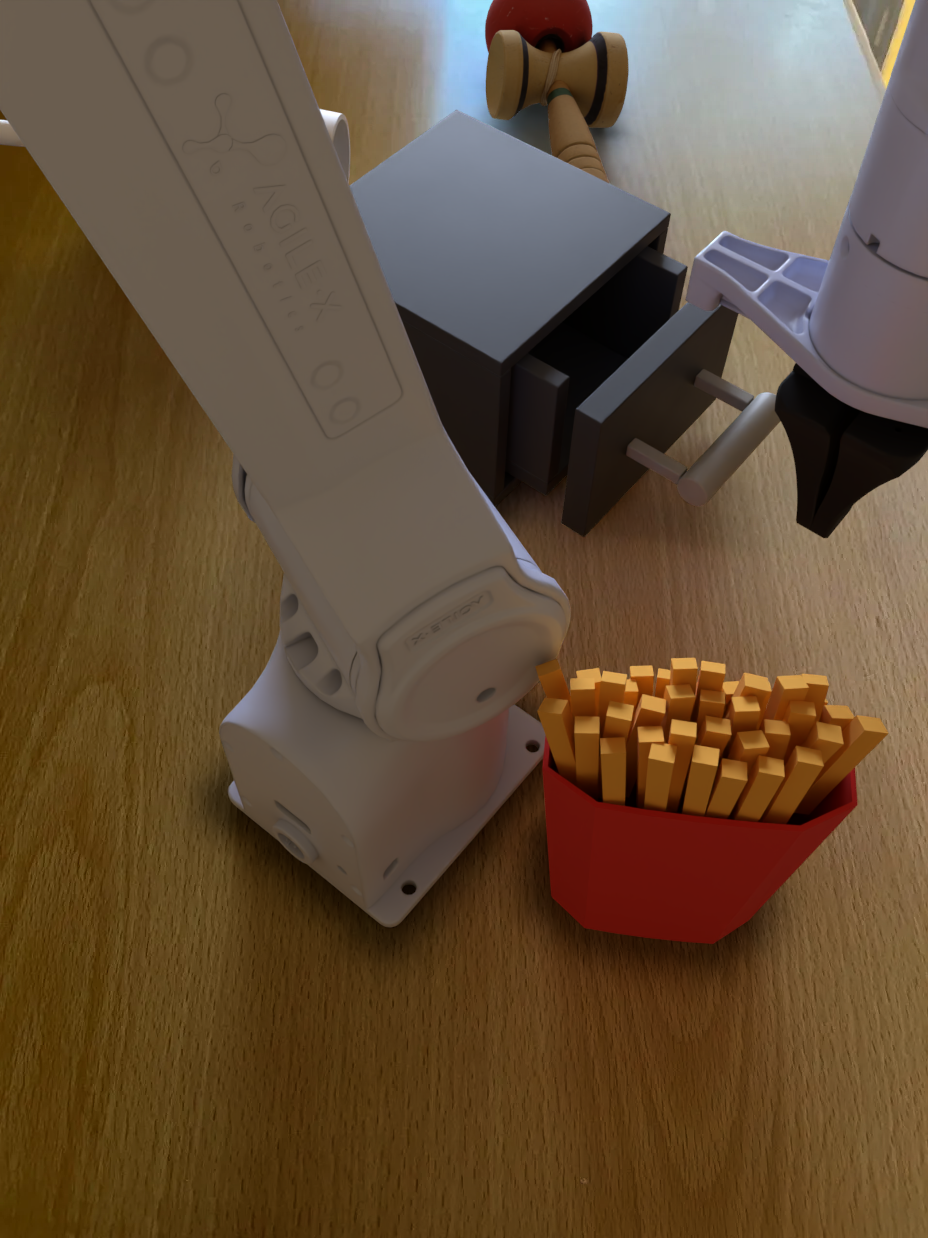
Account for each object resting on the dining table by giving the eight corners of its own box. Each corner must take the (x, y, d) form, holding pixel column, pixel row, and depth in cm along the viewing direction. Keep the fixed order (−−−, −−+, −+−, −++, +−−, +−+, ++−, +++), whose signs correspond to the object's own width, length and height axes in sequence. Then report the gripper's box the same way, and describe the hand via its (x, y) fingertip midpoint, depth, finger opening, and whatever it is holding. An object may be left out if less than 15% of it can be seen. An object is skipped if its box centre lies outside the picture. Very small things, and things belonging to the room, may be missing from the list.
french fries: (774, 839, 42) (888, 640, 31) (777, 957, 39) (901, 787, 29) (517, 809, 42) (542, 603, 32) (505, 924, 40) (527, 744, 29)
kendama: (673, 254, 62) (600, 24, 69) (675, 163, 56) (595, -77, 64) (528, 288, 62) (472, 55, 70) (516, 201, 56) (455, -42, 64)
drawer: (792, 440, 51) (833, 322, 46) (663, 587, 47) (692, 476, 41) (531, 299, 56) (540, 177, 51) (392, 419, 52) (385, 300, 46)
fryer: (643, 364, 55) (671, 212, 48) (493, 509, 50) (501, 363, 43) (455, 262, 59) (456, 108, 52) (299, 387, 54) (277, 235, 47)
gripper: (1239, 257, 34) (1041, 546, 45) (798, 72, 39) (719, 374, 50) (1147, 393, 31) (959, 667, 42) (681, 173, 36) (625, 470, 47)
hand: (822, 515), depth 46 cm, fingers closed
